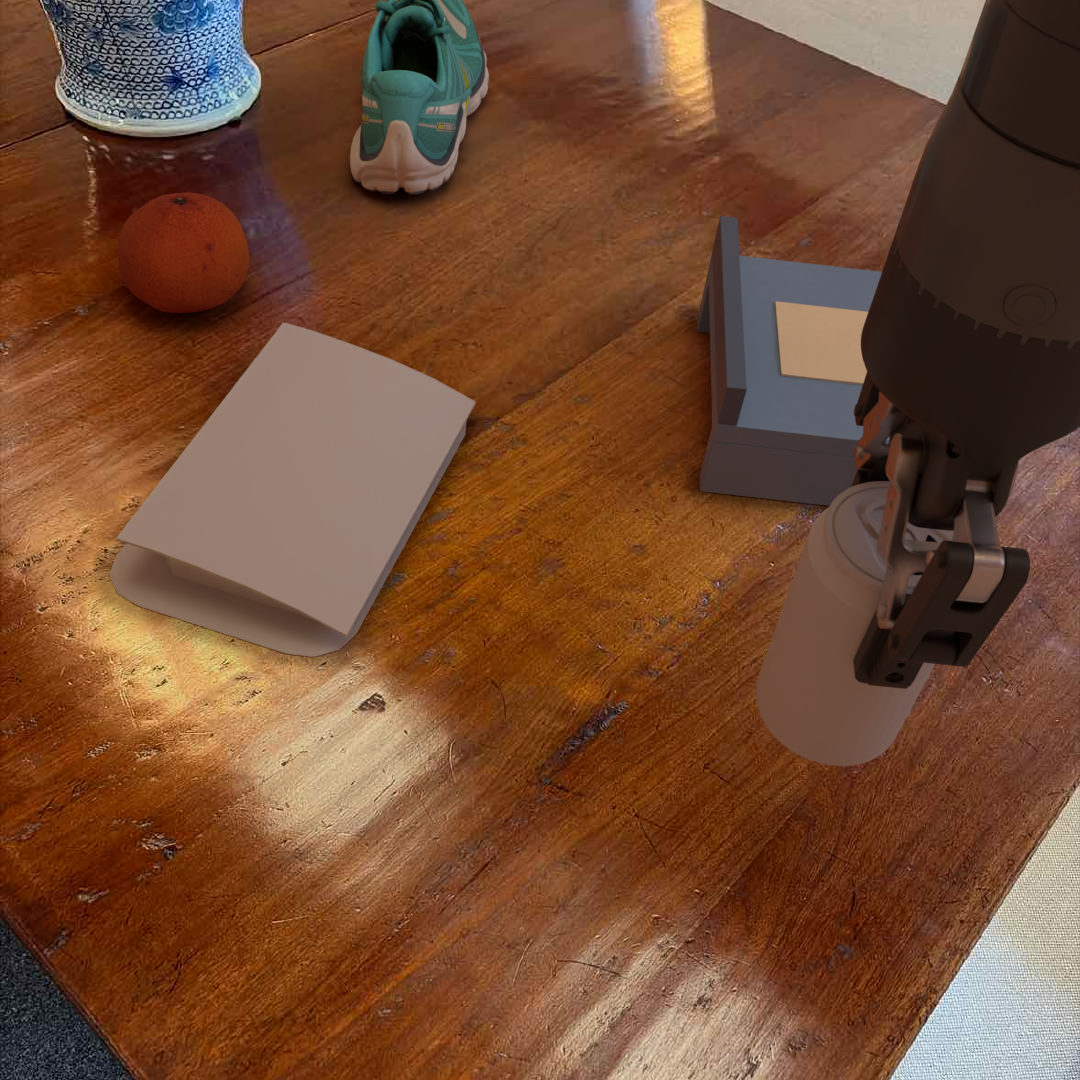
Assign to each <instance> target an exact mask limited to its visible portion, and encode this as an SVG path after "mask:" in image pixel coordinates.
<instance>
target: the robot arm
mask: <svg viewBox="0 0 1080 1080" xmlns="http://www.w3.org/2000/svg"><path fill="white" fill-rule="evenodd" d="M916 168H917V169H916V171H915V174H914V177H913V180H912V182H911V186H910V189H909V192H908V195H907V198H906V201H905V204H904V207H903V210H902V213H901V216H900V218H899V222H898V225H897V227H896V230H895V233H894V236H893V239H892V242H891V245H890V247H889V250H888V254H887V257H886V259H885V262H884V265H883V268H882V271H881V272H882V274H881V277H880V280H879V283H878V285H877V288H876V291H875V294H874V297H873V300H872V303H871V306H870V309H869V312H868V315H867V317H866V320H865V323H864V326H863V329H862V334H861V353H862V358H863V361H864V364H865V367H866V370H867V373H866V377H865V380H864V383H863V386H862V389H861V392H860V395H859V399H858V402H857V404H856V405H855V408H854V416H855V422H856V425H857V426H863V436H862V437H861V438H860V440H859V442H858V445H857V446H856V448H855V451H854V458H855V461H856V467H857V468H861V469H858V470H857V472H856V475H855V477H854V480H853V483H852V485H851V487H853V486H855V485H858V484H862V483H867V482H875V481H889V482H890V485H889V490H888V494H887V499H886V504H885V509H884V513H883V518H882V523H881V528H880V533H879V537H878V542H877V551H878V553H879V554H880V556H881V557H882V559H883V560H884V562H885V564H886V565H887V569H886V574H885V578H884V583H883V588H882V592H881V597H880V602H879V604H878V606H877V609H876V611H875V613H874V616H873V618H872V620H871V622H870V625H869V627H868V629H867V631H866V633H865V636H864V638H863V640H862V642H861V644H860V647H859V649H858V651H857V653H856V655H855V658H854V660H853V664H854V673H855V678H856V680H857V681H859V682H861V683H866V684H868V685H873V686H883V687H892V688H902V689H907V688H908V687H910V686H911V684H912V683H913V682H914V680H915V678H916V676H917V674H918V672H919V671H920V669H921V667H922V665H923V663H931V664H935V665H941V666H950V667H960V668H967V667H968V666H969V665H970V663H971V662H972V660H973V659H974V658H975V656H976V655H977V653H978V652H979V651H980V649H981V648H982V646H983V645H984V643H985V642H986V640H988V638H989V636H991V634H992V632H993V631H994V629H995V628H996V626H998V624H999V622H1000V621H1001V619H1002V618H1003V616H1004V615H1005V614H1006V613H1007V611H1008V610H1009V608H1010V606H1011V605H1012V604H1013V602H1014V601H1015V599H1016V598H1017V597H1018V595H1019V594H1020V592H1021V591H1022V589H1023V588H1024V587H1025V585H1026V584H1027V581H1028V579H1029V575H1030V571H1031V561H1030V560H1031V559H1030V558H1031V557H1030V554H1029V552H1028V550H1027V549H1026V548H1021V547H1011V546H1001V543H1000V537H999V530H998V525H997V523H998V520H999V516H1000V514H1001V513H1002V511H1003V510H1004V508H1005V507H1006V505H1007V504H1008V501H1009V498H1010V496H1011V495H1012V493H1013V490H1014V488H1015V487H1014V486H1015V483H1016V478H1017V475H1018V470H1019V465H1020V460H1021V459H1023V458H1024V457H1026V456H1027V455H1030V454H1031V453H1033V452H1034V451H1036V450H1038V449H1040V448H1043V447H1044V446H1046V445H1048V444H1051V443H1053V442H1055V441H1058V440H1060V439H1062V438H1064V437H1066V436H1068V435H1070V434H1072V433H1073V432H1075V431H1077V429H1079V428H1080V0H984V4H983V7H982V10H981V13H980V16H979V18H978V21H977V24H976V27H975V30H974V32H973V36H972V38H971V42H970V44H969V47H968V49H967V52H966V56H965V59H964V61H963V64H962V67H961V70H960V72H959V75H958V77H957V80H956V82H955V84H954V87H953V90H952V92H951V94H950V96H949V98H948V100H947V103H946V105H945V107H944V108H943V111H942V112H941V114H940V116H939V118H938V120H937V122H936V124H935V125H934V128H933V130H932V131H931V134H930V136H929V138H928V139H927V141H926V145H925V147H924V149H923V152H922V155H921V157H920V159H919V163H918V165H917V167H916ZM908 523H910V524H911V525H913V526H915V527H919V528H928V529H937V530H947V531H954V532H953V538H952V541H945V540H944V541H942V542H941V543H937V542H927V541H918V540H908V539H905V533H906V529H907V524H908ZM917 572H922V573H923V574H922V576H921V578H920V580H919V581H918V583H917V585H916V587H915V588H914V590H913V592H912V594H911V595H910V597H905V595H906V591H907V586H908V582H909V578H910V577H911V575H913V574H914V573H917Z"/></svg>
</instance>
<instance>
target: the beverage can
mask: <svg viewBox="0 0 1080 1080" xmlns="http://www.w3.org/2000/svg"><path fill="white" fill-rule="evenodd" d="M889 485H890V482H889V481H875V482H867V483H862V484H858V485H855V486H853V487H850V488H848V489H847V490H845V491H843V492H842V493H840V494H839V495H838V496H837V497H836V498H835V499H834V500H833V502H832V503H831V505H830V506H828V507H827V508H825V509H824V510H823V511H822V512H821V513H820V514H819V515H818V516H817V517H816V519H814V521H813V522H812V524H811V526H810V529H809V532H808V534H807V538H806V539H805V542H804V546H803V549H802V552H801V554H800V557H799V560H798V563H797V565H796V569H795V571H794V574H793V577H792V579H791V583H790V584H789V585H790V586H789V589H788V591H787V594H786V597H785V599H784V603H783V605H782V608H781V611H780V613H779V618H778V619H777V622H776V625H775V628H774V631H773V634H772V638H770V639H771V640H770V643H769V645H768V648H767V651H766V654H765V656H764V660H763V662H762V665H761V668H760V671H759V674H758V677H757V680H756V684H755V700H756V706H757V710H758V712H759V715H760V718H761V719H762V722H763V724H764V725H765V727H766V728H767V730H768V731H769V732H770V734H771V735H773V737H774V738H775V739H776V740H777V741H778V742H779V743H780V744H782V745H783V746H784V747H785V748H786V749H788V750H789V751H790V752H792V753H793V754H796V755H798V756H799V757H802V758H803V759H806V760H809V761H811V762H813V763H817V764H821V765H826V766H833V767H834V766H835V767H851V766H852V767H853V766H858V765H863V764H865V763H868V762H870V761H872V760H874V759H876V758H878V757H880V756H882V754H884V753H885V752H886V751H887V750H888V749H889V748H890V747H891V745H892V744H893V743H894V742H895V740H896V738H897V737H898V735H899V732H900V731H901V729H902V727H903V725H904V724H905V721H906V720H907V718H908V716H909V715H910V712H911V710H912V708H913V706H914V705H915V703H916V701H917V699H918V697H919V695H920V693H921V692H922V690H923V688H924V686H925V684H926V682H927V681H928V679H929V677H930V675H931V673H932V671H933V669H934V668H935V665H936V664H931V663H923V665H922V667H921V669H920V671H919V672H918V674H917V676H916V678H915V680H914V682H913V683H912V684H911V686H910V687H908V688H907V689H902V688H892V687H883V686H873V685H868V684H866V683H861V682H859V681H857V680H856V678H855V673H854V664H853V660H854V658H855V655H856V653H857V651H858V649H859V647H860V644H861V642H862V640H863V638H864V636H865V633H866V631H867V629H868V627H869V625H870V622H871V620H872V618H873V616H874V613H875V611H876V609H877V606H878V604H879V602H880V597H881V592H882V588H883V583H884V578H885V574H886V569H887V565H886V564H885V562H884V560H883V559H882V557H881V556H880V554H879V553H878V551H877V542H878V537H879V533H880V528H881V523H882V518H883V513H884V509H885V504H886V499H887V494H888V490H889ZM953 532H954V531H947V530H937V529H928V528H919V527H915V526H913V525H911V524H910V523H908V524H907V529H906V533H905V539H908V540H918V541H927V542H937V543H941V542H942V541H944V540H945V541H952V538H953ZM922 574H923V573H922V572H917V573H914V574H913V575H911V577H910V578H909V582H908V586H907V591H906V595H905V597H910V595H911V594H912V592H913V590H914V588H915V587H916V585H917V583H918V581H919V580H920V578H921V576H922Z"/></svg>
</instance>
